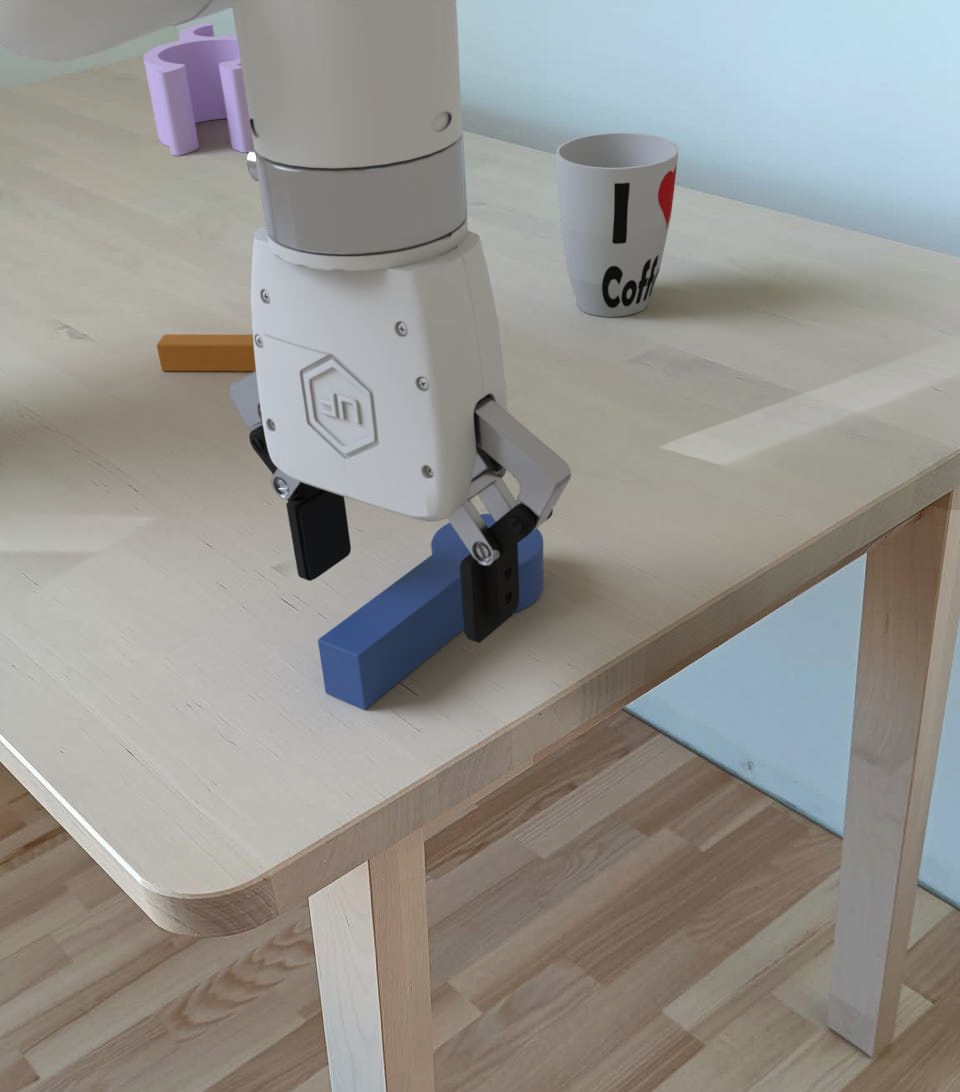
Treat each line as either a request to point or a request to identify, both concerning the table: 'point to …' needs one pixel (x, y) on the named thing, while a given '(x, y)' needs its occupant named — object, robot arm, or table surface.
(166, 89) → the clip
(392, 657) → the spoon
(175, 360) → the bar
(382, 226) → the robot arm
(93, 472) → the table surface
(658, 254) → the cup
